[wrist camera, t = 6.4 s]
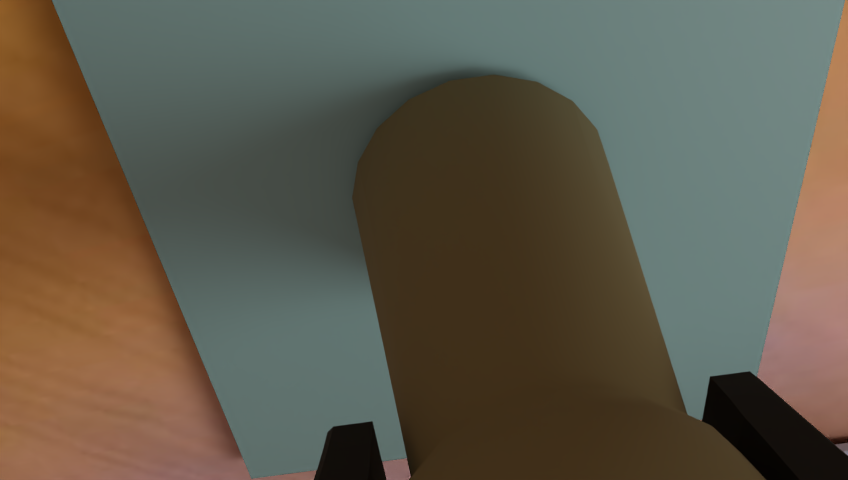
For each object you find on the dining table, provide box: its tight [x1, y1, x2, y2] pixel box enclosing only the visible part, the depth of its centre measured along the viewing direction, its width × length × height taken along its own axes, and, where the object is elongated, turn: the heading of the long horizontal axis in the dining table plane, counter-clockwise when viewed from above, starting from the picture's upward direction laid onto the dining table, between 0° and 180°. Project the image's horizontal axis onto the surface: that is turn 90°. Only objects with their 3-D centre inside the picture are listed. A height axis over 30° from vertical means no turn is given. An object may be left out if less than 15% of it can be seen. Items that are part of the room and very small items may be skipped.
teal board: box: [52, 0, 845, 479], centre depth 17 cm, size 18×16×1 cm
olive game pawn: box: [352, 75, 766, 480], centre depth 11 cm, size 6×6×11 cm
